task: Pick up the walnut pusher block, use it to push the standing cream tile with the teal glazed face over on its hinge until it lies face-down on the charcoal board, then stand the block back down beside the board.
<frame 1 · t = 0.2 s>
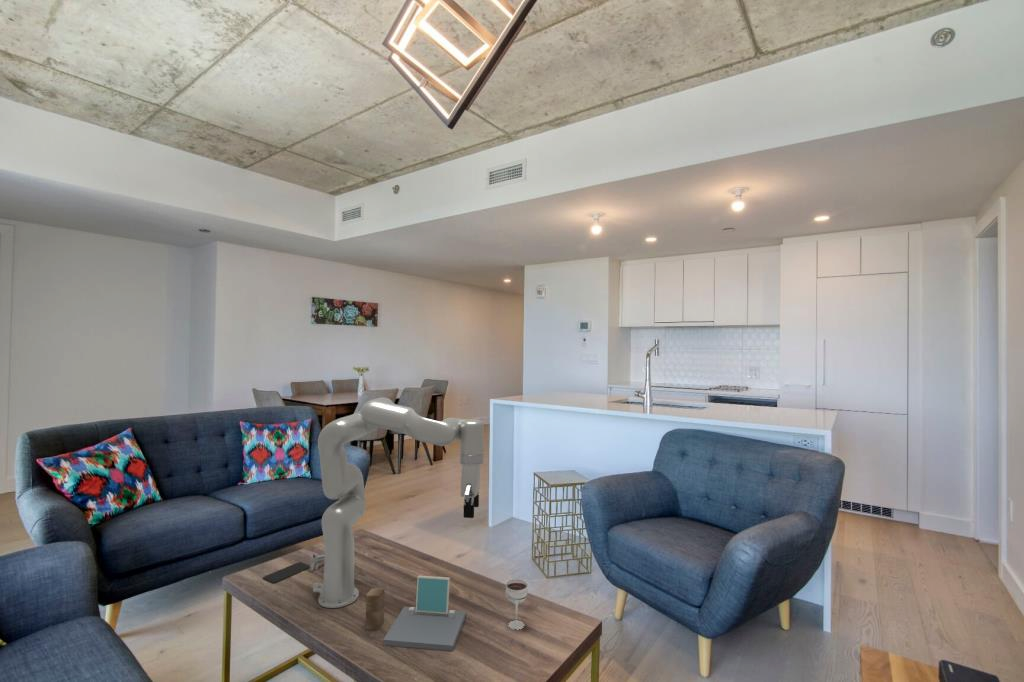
hand: (471, 511, 152), 31 cm above the table, tool pointing down, fingers open, 9 cm apart
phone: (287, 574, 174), on the table
pusher: (374, 625, 142), on the table
tile: (432, 594, 146), point 7 cm above the table, hinge at 80.0°
caliper: (333, 562, 183), on the table
board: (426, 629, 140), on the table
wineglass: (516, 625, 143), on the table
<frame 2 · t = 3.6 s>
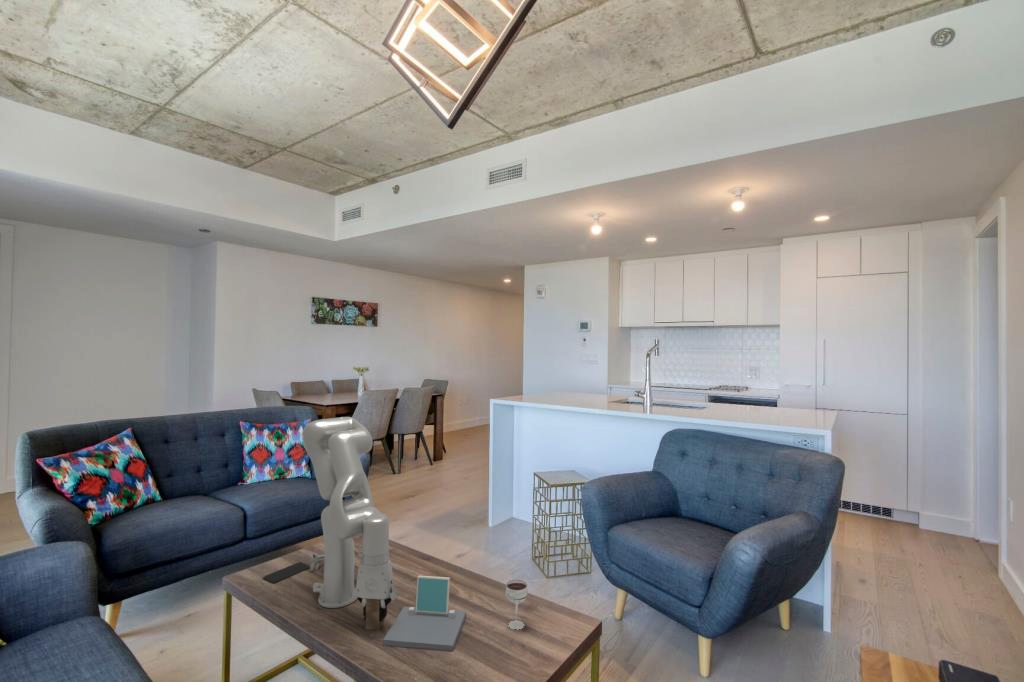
hand: (374, 617, 142), 2 cm above the table, tool pointing down, fingers closed on pusher, 4 cm apart
pusher: (374, 625, 142), on the table, touching gripper
everything else where it was.
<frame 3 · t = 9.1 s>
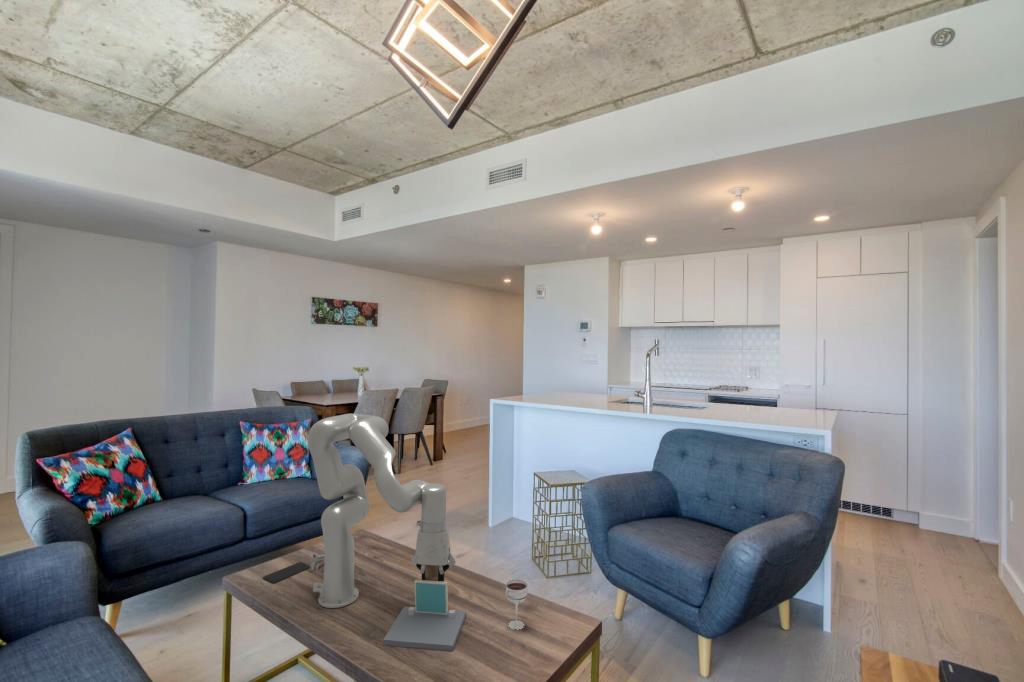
hand: (432, 584, 146), 10 cm above the table, tool pointing down, fingers closed on pusher, 4 cm apart
pusher: (433, 589, 147), point 8 cm above the table, touching gripper, tile
tile: (431, 597, 144), point 7 cm above the table, hinge at 96.8°, touching gripper, pusher
everything else where it was.
when the fingers open (3 cm above the table, at t = 17.9 s): pusher drops 2 cm, on the table.
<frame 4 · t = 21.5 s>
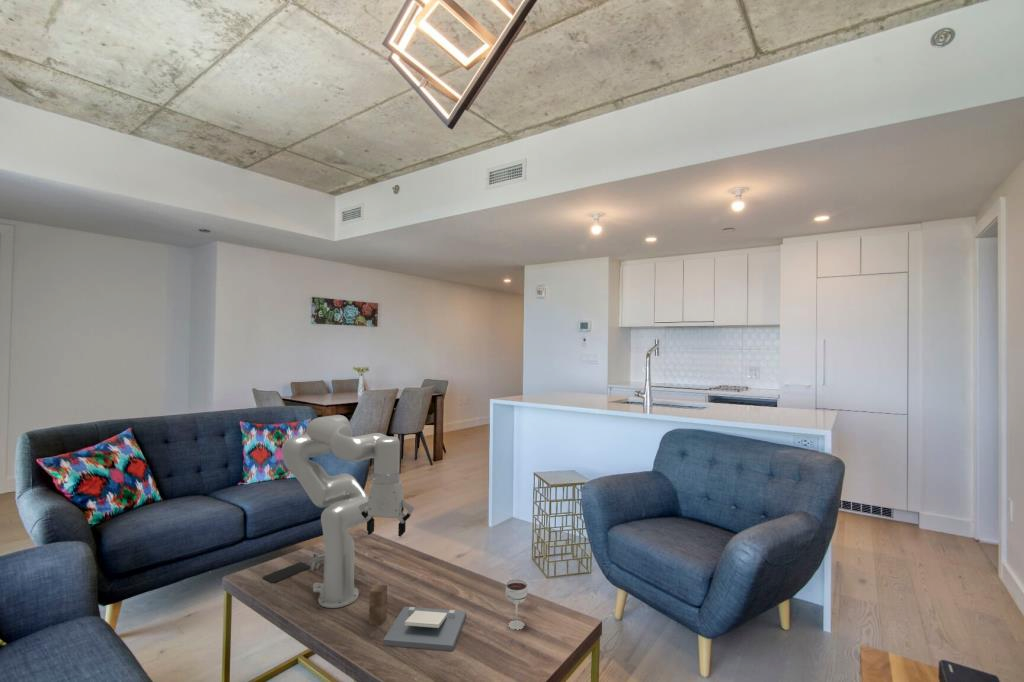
hand: (386, 533, 145), 26 cm above the table, tool pointing down, fingers open, 9 cm apart
pusher: (378, 620, 144), on the table
tile: (426, 619, 140), point 3 cm above the table, hinge at 167.3°
everything else where it was.
at the end: tile at +167° (first picture: +80°); pusher inside the target area (2.5 cm from its centre), on the table; pusher tilted 0° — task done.
